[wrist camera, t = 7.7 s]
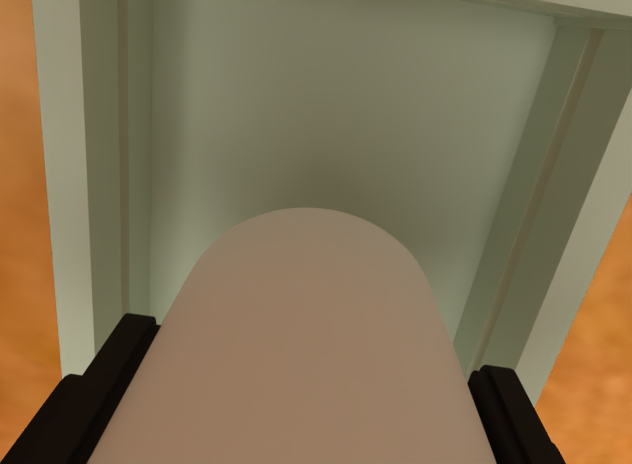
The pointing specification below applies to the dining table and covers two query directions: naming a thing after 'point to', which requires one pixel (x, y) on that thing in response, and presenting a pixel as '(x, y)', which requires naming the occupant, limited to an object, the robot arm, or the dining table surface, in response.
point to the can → (300, 357)
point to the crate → (339, 149)
